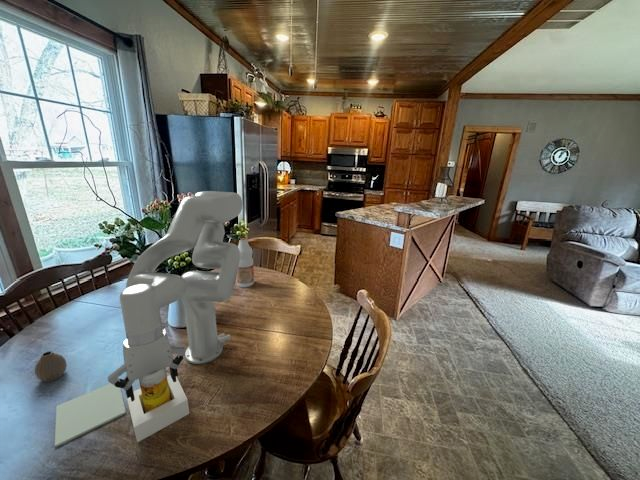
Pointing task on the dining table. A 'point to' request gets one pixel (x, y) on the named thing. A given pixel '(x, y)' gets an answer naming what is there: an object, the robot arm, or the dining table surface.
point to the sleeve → (158, 411)
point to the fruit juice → (245, 264)
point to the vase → (50, 367)
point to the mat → (87, 413)
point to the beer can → (155, 390)
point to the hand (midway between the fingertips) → (153, 387)
